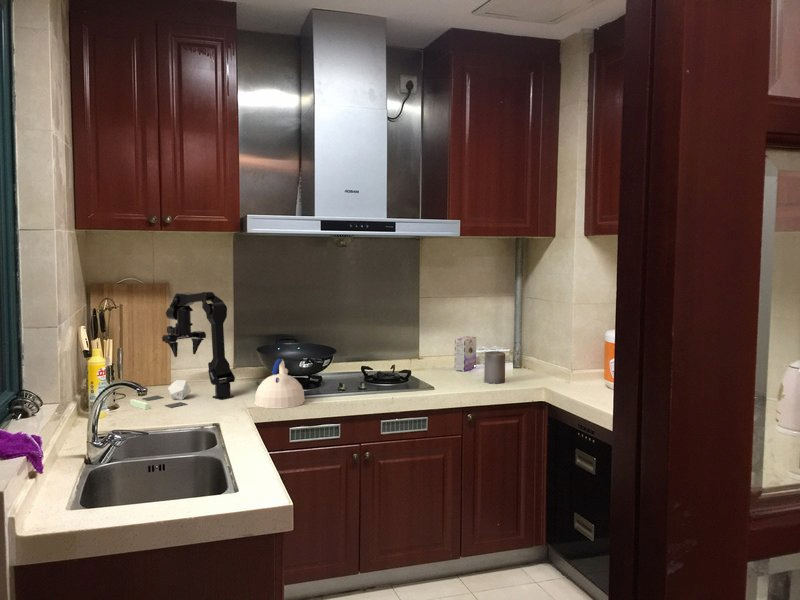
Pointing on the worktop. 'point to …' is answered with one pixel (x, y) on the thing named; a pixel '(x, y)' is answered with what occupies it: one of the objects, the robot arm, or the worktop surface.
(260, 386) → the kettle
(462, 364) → the candy box
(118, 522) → the worktop surface
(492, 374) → the pillar candle
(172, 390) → the die
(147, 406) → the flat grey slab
